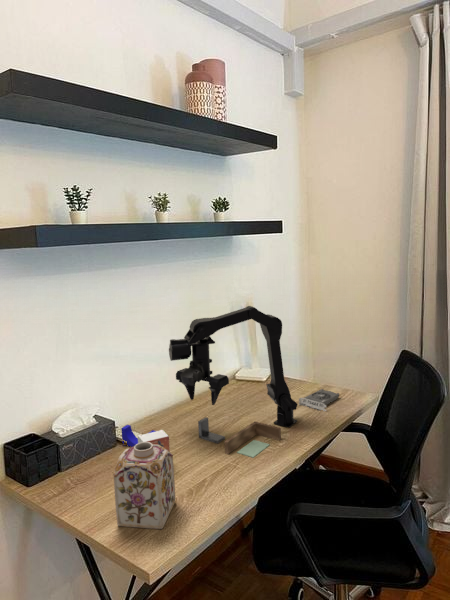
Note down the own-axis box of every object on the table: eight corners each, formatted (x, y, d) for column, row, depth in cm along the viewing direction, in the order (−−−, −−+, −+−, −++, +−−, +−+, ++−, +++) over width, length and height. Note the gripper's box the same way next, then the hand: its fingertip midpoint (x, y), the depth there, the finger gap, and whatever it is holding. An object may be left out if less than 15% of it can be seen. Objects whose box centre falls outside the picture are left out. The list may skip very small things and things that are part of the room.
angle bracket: (198, 438, 155) (198, 421, 154) (206, 433, 158) (205, 417, 157) (217, 443, 150) (217, 426, 149) (224, 439, 154) (224, 422, 153)
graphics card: (324, 405, 172) (298, 397, 180) (324, 414, 173) (298, 406, 181) (346, 393, 184) (320, 386, 192) (346, 402, 185) (320, 395, 193)
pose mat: (254, 440, 151) (254, 439, 151) (269, 445, 148) (269, 444, 148) (236, 452, 143) (236, 452, 143) (253, 457, 140) (253, 456, 140)
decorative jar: (176, 501, 118) (173, 436, 116) (163, 530, 107) (159, 458, 104) (132, 499, 120) (128, 434, 118) (115, 527, 109) (109, 456, 106)
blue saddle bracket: (160, 446, 150) (159, 429, 149) (151, 452, 146) (150, 434, 145) (131, 439, 156) (130, 423, 155) (122, 445, 152) (121, 428, 151)
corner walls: (255, 432, 158) (254, 421, 157) (280, 439, 152) (280, 427, 151) (224, 453, 143) (224, 441, 143) (252, 461, 138) (251, 449, 137)
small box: (145, 477, 131) (142, 442, 130) (139, 468, 136) (136, 435, 135) (171, 469, 135) (169, 435, 133) (164, 461, 140) (162, 428, 138)
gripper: (163, 359, 151) (165, 404, 153) (208, 367, 140) (209, 415, 143) (185, 351, 160) (187, 394, 162) (229, 358, 149) (230, 404, 151)
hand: (202, 402), depth 154 cm, fingers open, 9 cm apart
